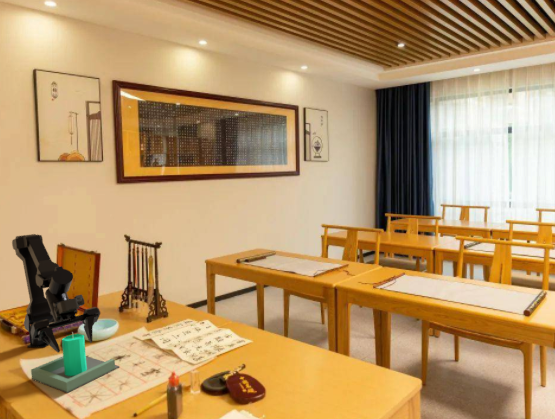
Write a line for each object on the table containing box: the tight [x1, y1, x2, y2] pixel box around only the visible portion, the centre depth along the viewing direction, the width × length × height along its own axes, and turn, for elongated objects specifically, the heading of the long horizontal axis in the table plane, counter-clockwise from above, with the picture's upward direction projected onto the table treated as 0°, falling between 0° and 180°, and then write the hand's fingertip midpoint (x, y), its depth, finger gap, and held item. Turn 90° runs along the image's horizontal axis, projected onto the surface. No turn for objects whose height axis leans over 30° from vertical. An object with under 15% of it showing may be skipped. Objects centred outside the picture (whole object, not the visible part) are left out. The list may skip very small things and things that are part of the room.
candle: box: [61, 331, 87, 376], centre depth 128 cm, size 6×6×12 cm
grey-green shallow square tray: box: [30, 355, 120, 394], centre depth 128 cm, size 17×17×3 cm
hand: (75, 346), depth 127 cm, fingers open, 9 cm apart
